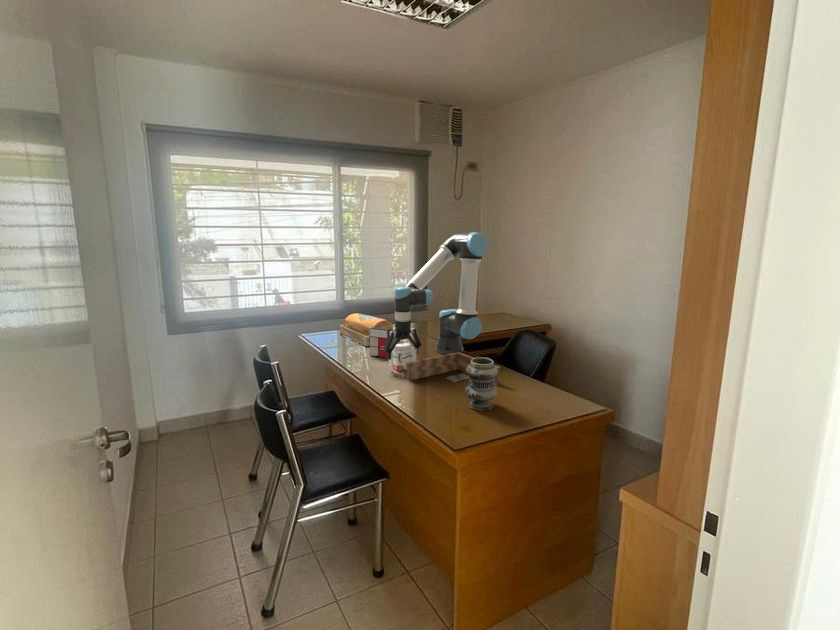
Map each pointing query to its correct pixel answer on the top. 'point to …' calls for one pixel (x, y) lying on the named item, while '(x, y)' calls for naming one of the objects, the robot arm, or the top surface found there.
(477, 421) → the top surface
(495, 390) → the apothecary jar
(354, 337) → the crate
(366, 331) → the orange rounded block
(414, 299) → the robot arm
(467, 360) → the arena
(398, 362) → the ink box
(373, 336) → the grey and red box
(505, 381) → the top surface
